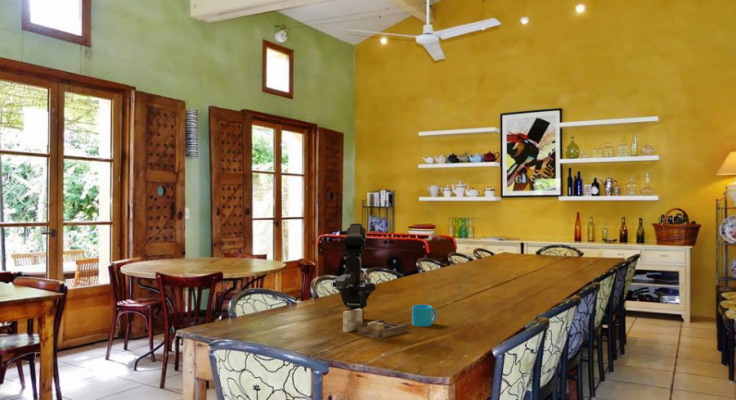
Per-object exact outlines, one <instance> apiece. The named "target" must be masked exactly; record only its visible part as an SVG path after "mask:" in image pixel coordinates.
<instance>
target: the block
mask: <svg viewBox="0 0 736 400" xmlns="http://www.w3.org/2000/svg"><path fill="white" fill-rule="evenodd" d="M363 310H364V308H363V309H354V310H349V311H348V310H345V311H342V332H345V333H348V332H352V331H358V325H359V324H363V320H362V319H363Z"/></svg>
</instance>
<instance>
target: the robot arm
mask: <svg viewBox="0 0 736 400" xmlns="http://www.w3.org/2000/svg"><path fill="white" fill-rule="evenodd" d="M343 240H344V241H343V254H347V255H346V257H345V258H346V259H345V261H344V265H345V267H346V269H344V271H343V274H342V275H340V276H338V277H336V278H335V279H334V280H333V281H332V288H334V290H336V291H337V292H338V293H339V294H340V296H341V297H340V298H341V301H342V303H343V306H345V308H347V311H349V310H354V309H363V319H362V321H364V320H365V318H364V317H365V313H364V308H366V307H367V306H368V303H367V302H368V299H369V298H370V295H371V294H372V293H373V292H374V291H376V284H375V283H373V282H370V281H367V282H364V280H363V279H362V273H364V270H363V269H362V254H364V252H365V251H366V241H367V230H366V228H365V227H363V225H362V223H350V225H349V226H348V228H347V229H346V236H345V238H344V239H343Z"/></svg>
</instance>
